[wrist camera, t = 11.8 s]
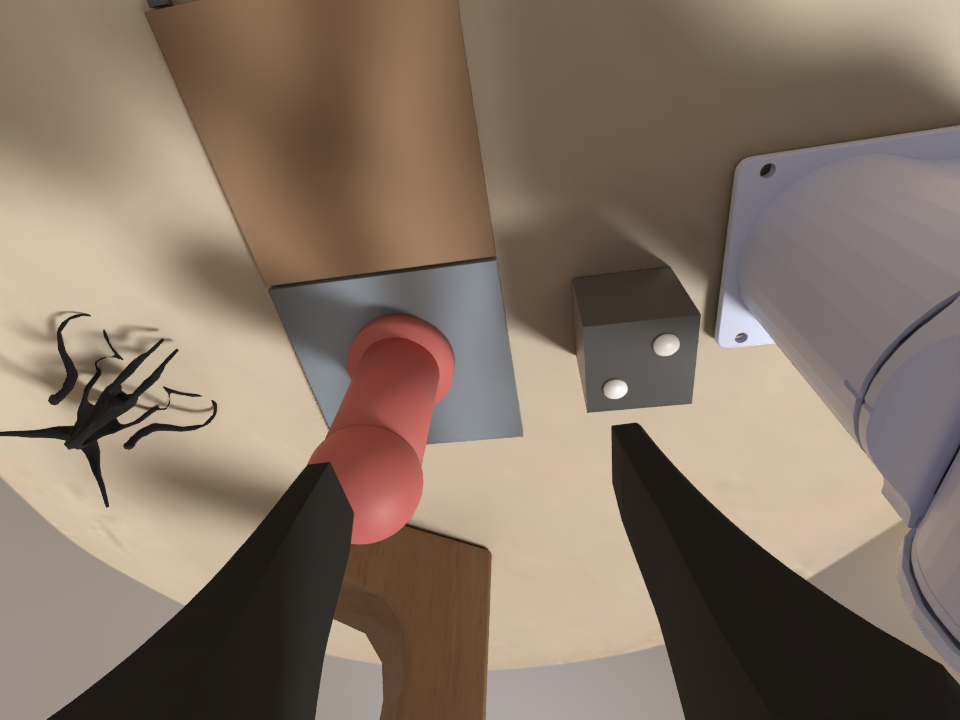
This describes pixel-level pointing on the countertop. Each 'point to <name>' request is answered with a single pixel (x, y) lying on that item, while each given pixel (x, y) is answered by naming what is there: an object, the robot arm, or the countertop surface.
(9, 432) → the creature
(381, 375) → the pawn
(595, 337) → the die
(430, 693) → the wooden block
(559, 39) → the countertop surface
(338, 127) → the board
